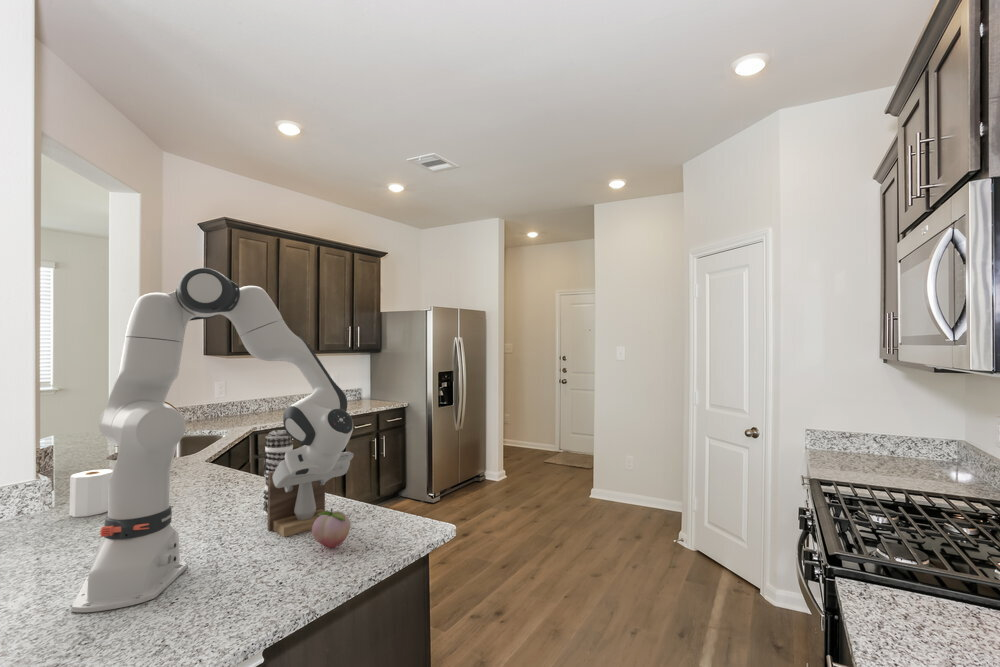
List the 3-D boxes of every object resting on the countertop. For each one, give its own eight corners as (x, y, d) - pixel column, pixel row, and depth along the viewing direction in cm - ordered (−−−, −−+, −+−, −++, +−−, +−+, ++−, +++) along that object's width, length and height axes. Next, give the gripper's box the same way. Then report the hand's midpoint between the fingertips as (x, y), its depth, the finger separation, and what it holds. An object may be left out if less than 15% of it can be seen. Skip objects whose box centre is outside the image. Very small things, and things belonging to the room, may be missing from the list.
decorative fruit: (357, 543, 124) (357, 504, 124) (338, 556, 116) (338, 515, 116) (326, 539, 127) (326, 501, 127) (305, 552, 119) (306, 511, 119)
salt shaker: (319, 514, 138) (320, 469, 139) (309, 521, 133) (310, 474, 133) (300, 514, 139) (300, 469, 139) (289, 521, 133) (290, 474, 134)
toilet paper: (69, 511, 150) (70, 472, 151) (111, 504, 157) (112, 467, 158) (69, 519, 143) (70, 479, 143) (113, 511, 150) (114, 473, 150)
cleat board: (336, 522, 139) (336, 467, 140) (280, 538, 128) (280, 477, 128) (322, 515, 145) (322, 462, 146) (267, 529, 134) (268, 472, 134)
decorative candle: (254, 515, 145) (256, 433, 146) (276, 506, 154) (276, 428, 155) (280, 518, 143) (281, 434, 144) (300, 508, 152) (301, 429, 153)
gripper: (351, 442, 139) (335, 470, 145) (279, 453, 124) (264, 484, 130) (359, 460, 135) (342, 488, 142) (286, 473, 121) (270, 504, 127)
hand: (304, 486), depth 136 cm, fingers open, 8 cm apart
